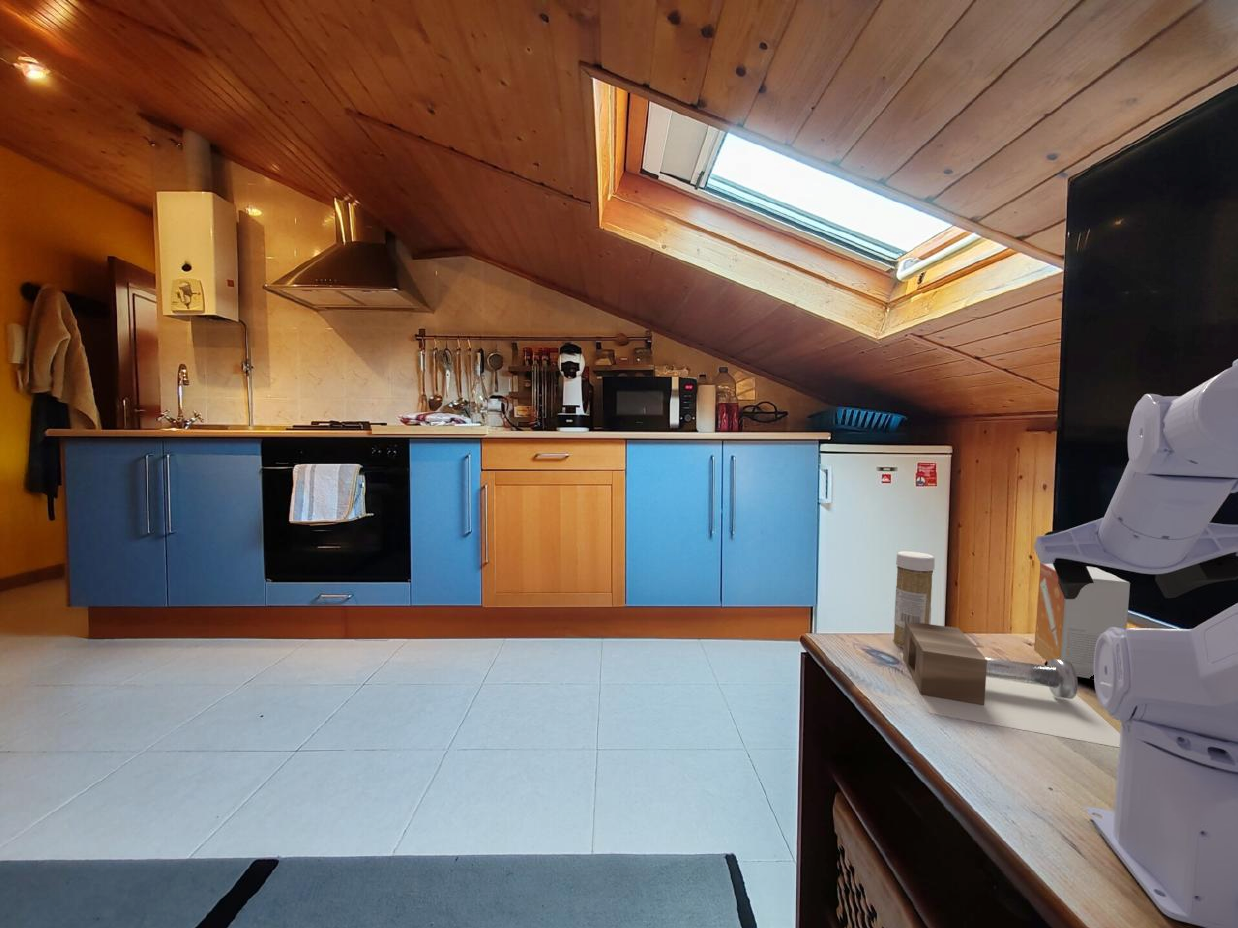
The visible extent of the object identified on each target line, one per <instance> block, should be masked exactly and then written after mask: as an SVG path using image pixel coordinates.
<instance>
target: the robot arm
mask: <svg viewBox="0 0 1238 928" xmlns="http://www.w3.org/2000/svg"><path fill="white" fill-rule="evenodd" d="M1127 453H1128V459H1129V460H1128V462H1127V465H1126V466H1125V468H1124V471H1123V473H1122V475H1121V479H1120V481H1119V482H1118V485H1117V487H1116V489H1115V492H1114V494H1113V496H1112V498H1111V500H1110V503H1109V505H1108V507H1107V510H1106V512H1105V514H1104V516H1103V517H1101V518H1099V519H1096V520H1092V521H1089V522H1087V523H1084V524H1081V525H1078V526H1075V527H1072V528H1069V529H1066V530H1050V531H1048V532H1046V533H1044V535H1037V536H1036V538H1035V542H1034V545H1033V548H1034V551H1035V554H1036V556H1037V558H1038V562H1039V564H1040V563H1041V564H1053V566H1054V568H1055V571H1056V573H1057V575H1058V584H1059V586H1060V588H1061V591H1062V593H1063V595H1064V598H1065V599H1075V598H1076V597H1077V596H1078V594H1079V592H1080V590H1081V589H1082V588H1083V587H1084V586H1086V585H1087V584H1090V583H1094V582H1093V580H1092V577H1091V575H1090V573H1089V571H1088V569H1087V566H1088V564H1090V565H1096V566H1102V567H1108V568H1112V569H1118V570H1123V571H1128V572H1134V573H1139V574H1146V575H1155V576H1154V581H1155V582H1156V585H1157V586H1158V587H1159V589H1160V591H1161V593H1162V594H1163V596H1164V598H1165V599H1173V598H1174V599H1175V598H1177V597H1180V596H1181V595H1184V594H1186V593H1188V592H1190V591H1192V590H1195V589H1197V588H1199V587H1203V586H1205V585H1209V584H1214V583H1218V582H1224V581H1225V582H1226V581H1235V580H1236V581H1237V579H1238V561H1237V560H1236V559H1235V556H1236V557H1238V524H1226V523H1225V524H1223V523H1214V522H1212V519H1213V517H1214V516H1215V515H1216V514H1217V513H1218V511H1219V509H1220V508H1221V506H1223V503H1224V502H1225V501H1226V500H1227V498H1228V496H1229V495H1230V494H1236V493H1237V492H1238V358H1237V359H1236V360H1234V361H1233V362H1232V366H1231V367H1229V368H1227V369H1224V371H1222V372H1220V373H1218V374H1217V375H1214V376H1213V377H1211V378H1210V379H1208V380H1206V381H1205V382H1202V383H1201V384H1199V385H1198V386H1196V387H1194V388H1192V389H1191V390H1189V391H1187V392H1186V393H1184V394H1182V395H1180V396H1177V395H1174V396H1162V395H1160V394H1158V393H1157V394H1155V393H1146V394H1144V395H1143V396H1142V397H1141V399H1140V400H1138V401H1137V403H1136V405H1135V406H1134V409H1133V412H1132V414H1131V418H1130V422H1129V426H1128V430H1127ZM1093 680H1094V681H1093V682H1094V689H1095V693H1096V698H1097V700H1098V703H1099V705H1100V706H1101V707H1102V709H1104V710H1105V711H1106V712H1107V714H1108V715H1109V717H1110V718H1112V719H1114V720H1118V721H1120V732H1119V733H1120V744H1119V748H1118V758H1117V761H1118V762H1117V771H1116V774H1117V775H1116V783H1115V797H1114V809H1113V811H1111V810H1107V809H1103V808H1102V809H1101V808H1097V807H1092V806H1085V807H1084V810H1085V811H1086V812H1087V814H1088V815H1089V817H1090V818H1089V821H1090V822H1091V823H1092V825H1093V826H1094V827H1095V828H1096V830H1097V831H1098V833H1099V834H1100V835H1101V836H1102V837H1103V838H1104V840H1105V841H1106V842H1107V844H1108V845H1109V847H1110V848H1111V849H1112V851H1113V852H1114V853H1115V854H1116V855H1117V856H1118V858H1119V859H1120V860H1121V862H1122V863H1123V864H1124V865H1125V867H1126V868H1127V869H1128V871H1129V872H1130V873H1131V874H1132V876H1133V877H1134V878H1135V880H1136V881H1137V883H1139V885H1140V886H1141V888H1143V890H1144V891H1145V893H1146V894H1147V895H1148V896H1149V898H1150V899H1151V900H1152V901H1153V903H1154V904H1155V905H1156V907H1157V908H1158V909H1159V911H1161V913H1163V915H1165V916H1167V917H1169V918H1171V919H1173V920H1176V921H1179V922H1183V923H1187V924H1191V925H1195V926H1199V927H1201V928H1238V602H1237V603H1235V604H1234V605H1232V606H1230V607H1228V608H1226V609H1224V610H1223V611H1220V613H1218V614H1216V615H1213V616H1212V617H1211V618H1209V619H1207V620H1206V621H1204V622H1202V623H1200V624H1198V625H1197V626H1196V627H1194V628H1189V629H1187V628H1153V627H1152V628H1147V627H1146V628H1145V627H1144V628H1143V627H1142V628H1139V627H1138V628H1137V627H1135V628H1134V627H1129V628H1128V627H1127V629H1126V630H1124V629H1122V628H1117V627H1111V628H1109V629H1107V630H1106V631H1105V632H1104V633H1102V634H1101V635H1100V636H1099V637H1098V639H1097V642H1096V646H1095V652H1094V679H1093ZM1094 814H1095V815H1098V816H1100V817H1097V816H1095V815H1094Z"/></svg>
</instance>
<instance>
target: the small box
mask: <svg viewBox="0 0 1238 928" xmlns="http://www.w3.org/2000/svg"><path fill="white" fill-rule="evenodd" d="M1087 569H1088V571H1089V573H1090V575H1091V577H1092V580H1093V582H1094V583H1090V584H1087V585H1086V586H1084V587H1083V588H1082V589H1081V590H1080V592H1079V594H1078V596H1077V597H1076V598H1075V599H1065V598H1064V595H1063V593H1062V591H1061V588H1060V586H1059V584H1058V575H1057V573H1056V571H1055V568H1054V566H1053V564H1041V563H1040V562H1039V579H1038V581H1039V582H1038V591H1037V594H1038V595H1037V604H1036V605H1037V606H1036V619H1035V620H1036V621H1035V631H1034V633H1035V634H1034V647H1033V650H1034V652H1036V653H1037V654H1038V655H1040V657H1042V659H1044V660H1045V661H1046V662H1047V663H1048V661H1049V660H1050V659H1052V658H1053V659H1060V660H1067V661H1069V662H1070V663H1071V664H1072V665H1073V667H1074V669H1075V672H1076V676H1077V678H1078V677H1079V678H1086V679H1090V677H1091V676H1093V675H1094V652H1095V646H1096V642H1097V639H1098V637H1099V636H1100V635H1101V634H1102V633H1104V632H1105V631H1106V630H1107V629H1109V628H1111V627H1117V628H1122V629H1124V630H1126V629H1128V627H1127V626H1128V619H1129V616H1128V614H1129V601H1130V590H1131V589H1130V588H1131V587H1130V586H1131V582H1129V581H1127V580H1126V579H1122V578H1120V577H1118V576H1117V575H1114V574H1112V573H1110V572H1106V571H1105V570H1102V569H1100V568H1098V567H1093V566H1088V565H1087Z"/></svg>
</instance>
